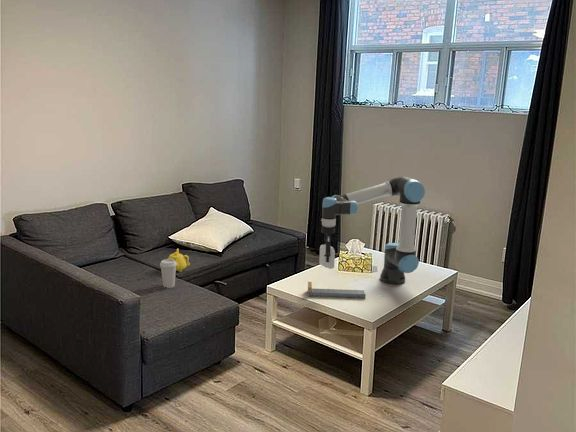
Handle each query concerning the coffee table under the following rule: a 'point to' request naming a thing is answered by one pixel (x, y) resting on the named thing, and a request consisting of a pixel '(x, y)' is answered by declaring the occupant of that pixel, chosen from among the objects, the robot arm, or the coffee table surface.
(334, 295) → the rail
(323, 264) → the photo printer
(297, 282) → the coffee table surface
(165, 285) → the coffee cup
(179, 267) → the teapot
